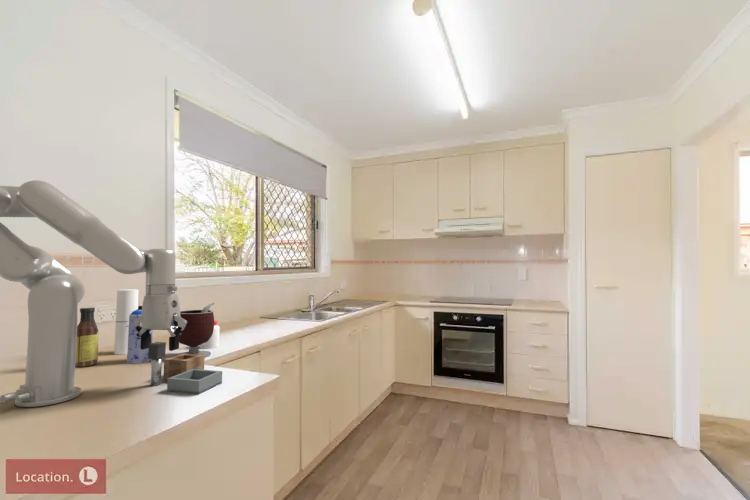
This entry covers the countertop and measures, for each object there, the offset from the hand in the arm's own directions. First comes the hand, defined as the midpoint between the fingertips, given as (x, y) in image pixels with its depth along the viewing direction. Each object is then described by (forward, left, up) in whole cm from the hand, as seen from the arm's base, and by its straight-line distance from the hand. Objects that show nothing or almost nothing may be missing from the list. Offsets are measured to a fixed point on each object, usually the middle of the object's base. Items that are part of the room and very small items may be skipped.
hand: (159, 349), depth 105 cm
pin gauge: (0, 0, -10) cm, 10 cm away
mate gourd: (+34, +14, -10) cm, 38 cm away
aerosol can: (+22, +28, -10) cm, 37 cm away
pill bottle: (+49, +19, -10) cm, 53 cm away
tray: (+1, -12, -10) cm, 16 cm away
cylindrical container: (+31, +44, -10) cm, 55 cm away
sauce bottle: (+12, +40, -10) cm, 43 cm away
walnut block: (+9, -2, -10) cm, 13 cm away
